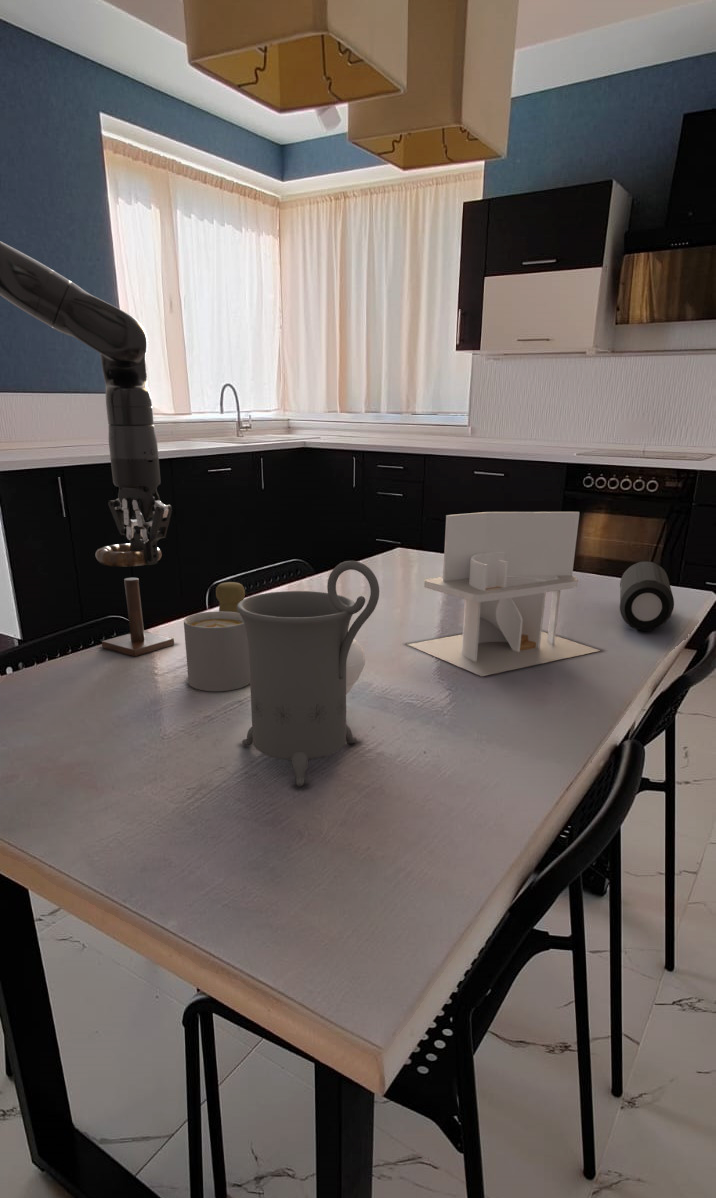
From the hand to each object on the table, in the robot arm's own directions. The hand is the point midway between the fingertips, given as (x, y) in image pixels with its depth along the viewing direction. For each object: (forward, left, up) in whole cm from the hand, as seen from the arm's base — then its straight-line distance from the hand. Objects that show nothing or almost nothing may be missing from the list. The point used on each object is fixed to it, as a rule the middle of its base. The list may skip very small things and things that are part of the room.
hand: (145, 562), depth 131 cm
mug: (+50, -19, -16) cm, 56 cm away
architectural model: (+49, +39, -16) cm, 65 cm away
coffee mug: (+21, -3, -16) cm, 26 cm away
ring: (-4, 0, +1) cm, 4 cm away
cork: (+8, +12, -16) cm, 21 cm away
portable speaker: (+63, +76, -16) cm, 100 cm away
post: (-4, 0, -15) cm, 16 cm away
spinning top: (+43, -3, -16) cm, 46 cm away
